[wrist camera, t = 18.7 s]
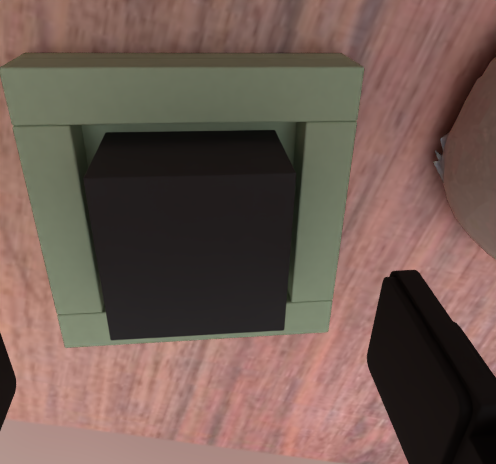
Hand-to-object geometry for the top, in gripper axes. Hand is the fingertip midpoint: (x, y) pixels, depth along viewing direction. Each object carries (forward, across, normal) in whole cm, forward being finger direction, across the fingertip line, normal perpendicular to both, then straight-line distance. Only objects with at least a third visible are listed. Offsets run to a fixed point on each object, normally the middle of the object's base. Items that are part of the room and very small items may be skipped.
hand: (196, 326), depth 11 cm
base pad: (+8, 0, +1) cm, 9 cm away
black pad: (+7, 0, +1) cm, 8 cm away
